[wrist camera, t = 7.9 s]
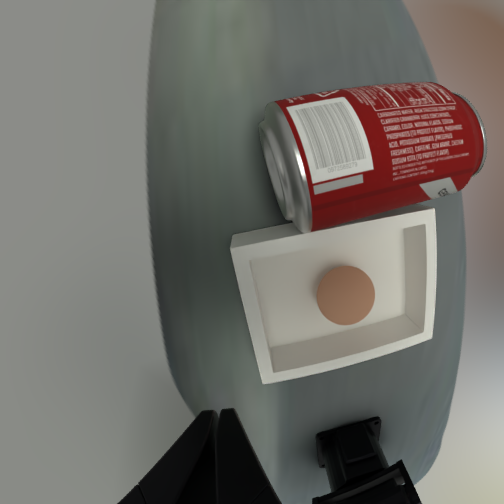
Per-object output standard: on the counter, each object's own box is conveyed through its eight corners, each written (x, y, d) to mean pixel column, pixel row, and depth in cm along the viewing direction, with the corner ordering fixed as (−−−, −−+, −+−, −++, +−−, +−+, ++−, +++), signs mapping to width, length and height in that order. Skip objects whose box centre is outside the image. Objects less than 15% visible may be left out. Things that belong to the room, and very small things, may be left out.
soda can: (292, 201, 10) (512, 152, 9) (246, 79, 12) (445, 60, 11) (292, 253, 16) (459, 205, 16) (261, 156, 18) (416, 125, 18)
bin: (409, 316, 20) (431, 338, 17) (260, 354, 21) (262, 384, 17) (406, 201, 18) (434, 208, 15) (232, 234, 18) (229, 248, 15)
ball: (363, 302, 19) (384, 327, 16) (314, 314, 19) (327, 342, 16) (360, 253, 18) (383, 270, 15) (307, 264, 18) (321, 285, 15)
